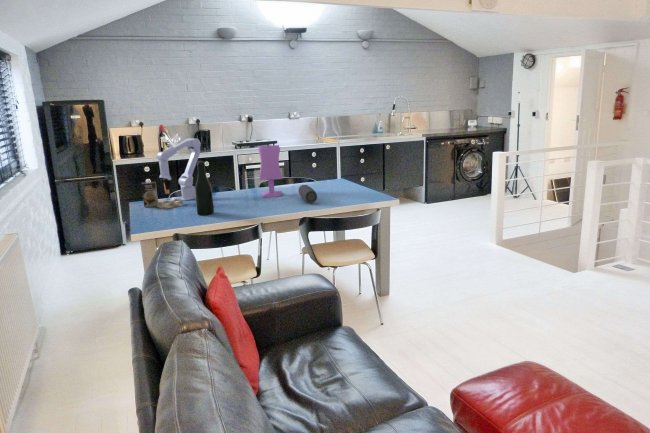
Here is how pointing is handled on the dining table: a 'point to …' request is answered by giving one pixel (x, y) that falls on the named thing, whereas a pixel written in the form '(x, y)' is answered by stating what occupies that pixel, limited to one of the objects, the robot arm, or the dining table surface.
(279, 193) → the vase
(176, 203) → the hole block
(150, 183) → the coffee box
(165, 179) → the dowel
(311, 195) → the bluetooth speaker
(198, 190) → the beer bottle
